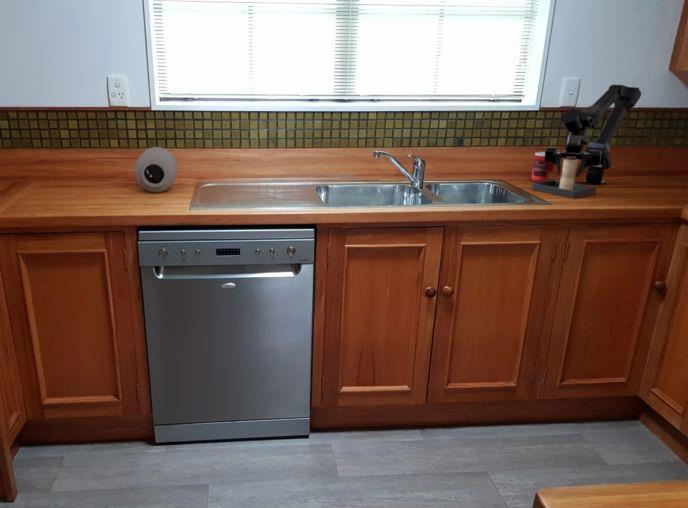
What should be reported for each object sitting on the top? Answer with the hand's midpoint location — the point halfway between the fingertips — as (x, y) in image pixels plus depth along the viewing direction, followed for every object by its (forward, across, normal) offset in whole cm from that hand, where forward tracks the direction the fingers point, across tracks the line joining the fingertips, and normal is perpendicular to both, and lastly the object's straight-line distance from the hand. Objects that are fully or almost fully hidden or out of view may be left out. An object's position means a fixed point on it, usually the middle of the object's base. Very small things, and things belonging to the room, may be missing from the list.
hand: (567, 175), depth 220 cm
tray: (+2, -1, +8) cm, 8 cm away
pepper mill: (+4, 0, +6) cm, 7 cm away
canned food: (-10, -11, +20) cm, 25 cm away
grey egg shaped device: (+54, -131, -45) cm, 148 cm away
